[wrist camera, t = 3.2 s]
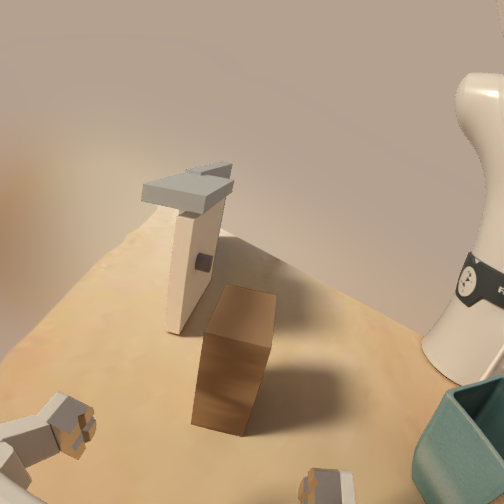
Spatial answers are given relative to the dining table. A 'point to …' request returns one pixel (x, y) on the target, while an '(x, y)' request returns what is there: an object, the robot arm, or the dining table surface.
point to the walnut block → (233, 359)
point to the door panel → (191, 263)
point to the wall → (191, 188)
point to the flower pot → (463, 446)
